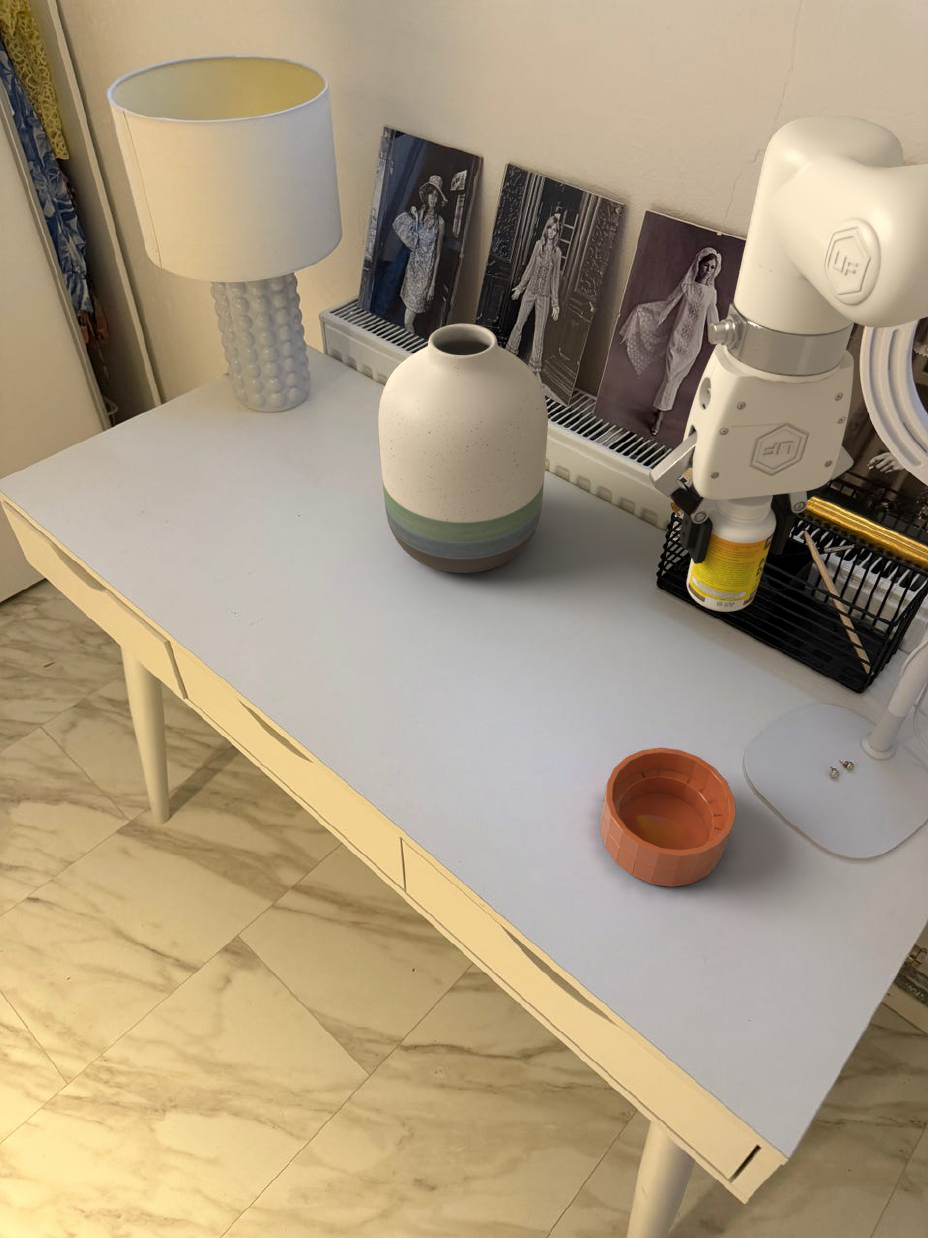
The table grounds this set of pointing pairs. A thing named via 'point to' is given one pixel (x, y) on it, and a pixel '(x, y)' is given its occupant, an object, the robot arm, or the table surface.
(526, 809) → the table surface
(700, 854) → the bowl
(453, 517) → the vase
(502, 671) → the table surface
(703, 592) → the supplement bottle
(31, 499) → the table surface
